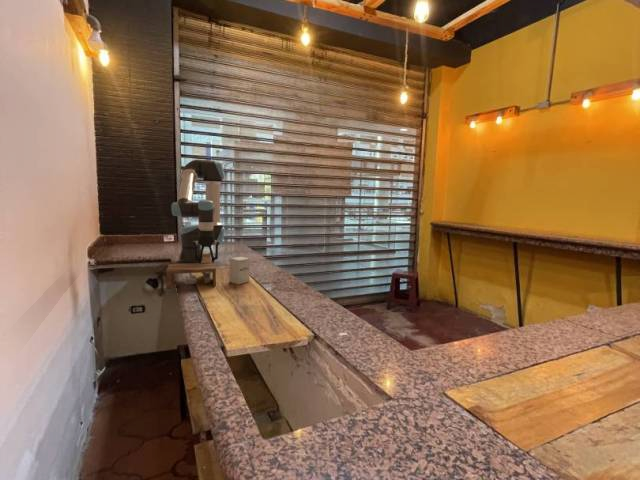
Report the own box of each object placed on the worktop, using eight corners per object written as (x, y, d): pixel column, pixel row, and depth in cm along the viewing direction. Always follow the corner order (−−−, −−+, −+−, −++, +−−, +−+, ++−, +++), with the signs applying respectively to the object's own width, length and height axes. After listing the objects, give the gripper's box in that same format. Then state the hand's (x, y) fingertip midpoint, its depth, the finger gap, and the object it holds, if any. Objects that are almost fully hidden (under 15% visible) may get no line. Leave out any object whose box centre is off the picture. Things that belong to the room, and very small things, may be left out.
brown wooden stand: (169, 281, 169) (169, 264, 168) (214, 279, 176) (214, 262, 175) (166, 289, 156) (166, 270, 155) (215, 286, 163) (215, 268, 162)
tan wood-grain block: (202, 274, 182) (202, 252, 180) (210, 274, 183) (210, 252, 181) (203, 283, 166) (202, 259, 164) (211, 282, 167) (211, 259, 165)
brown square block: (184, 282, 170) (184, 276, 169) (195, 281, 172) (195, 275, 171) (185, 284, 165) (185, 278, 165) (196, 283, 167) (196, 278, 167)
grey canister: (238, 284, 168) (238, 260, 166) (229, 281, 172) (229, 258, 170) (249, 281, 174) (249, 258, 172) (240, 279, 178) (240, 256, 176)
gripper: (188, 230, 170) (189, 274, 174) (223, 230, 176) (223, 273, 180) (189, 228, 177) (190, 271, 181) (222, 228, 183) (222, 269, 187)
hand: (206, 272), depth 180 cm, fingers closed on tan wood-grain block, 4 cm apart
